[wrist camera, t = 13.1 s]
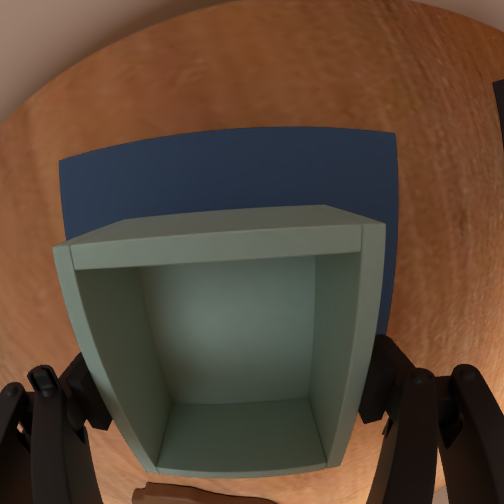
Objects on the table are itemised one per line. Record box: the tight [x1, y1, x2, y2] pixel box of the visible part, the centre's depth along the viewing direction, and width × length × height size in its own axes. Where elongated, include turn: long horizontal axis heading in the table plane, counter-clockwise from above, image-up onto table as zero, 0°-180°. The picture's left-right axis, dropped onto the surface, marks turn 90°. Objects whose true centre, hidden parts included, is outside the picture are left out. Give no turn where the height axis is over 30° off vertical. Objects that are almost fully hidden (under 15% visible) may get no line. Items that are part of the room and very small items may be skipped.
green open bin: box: [52, 205, 386, 478], centre depth 11 cm, size 12×10×6 cm
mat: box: [59, 127, 398, 336], centre depth 15 cm, size 20×20×1 cm
